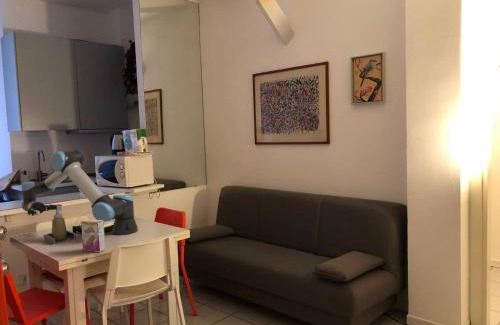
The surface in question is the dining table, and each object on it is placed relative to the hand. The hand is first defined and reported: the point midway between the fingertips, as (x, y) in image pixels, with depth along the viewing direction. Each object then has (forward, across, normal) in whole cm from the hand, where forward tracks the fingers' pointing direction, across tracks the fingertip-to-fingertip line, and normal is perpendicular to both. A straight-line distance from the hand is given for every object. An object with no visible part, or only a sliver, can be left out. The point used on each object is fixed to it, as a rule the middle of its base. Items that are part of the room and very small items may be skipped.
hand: (50, 211), depth 253 cm
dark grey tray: (+9, 0, -16) cm, 19 cm away
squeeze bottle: (+9, 0, -16) cm, 18 cm away
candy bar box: (+45, -2, -17) cm, 49 cm away
